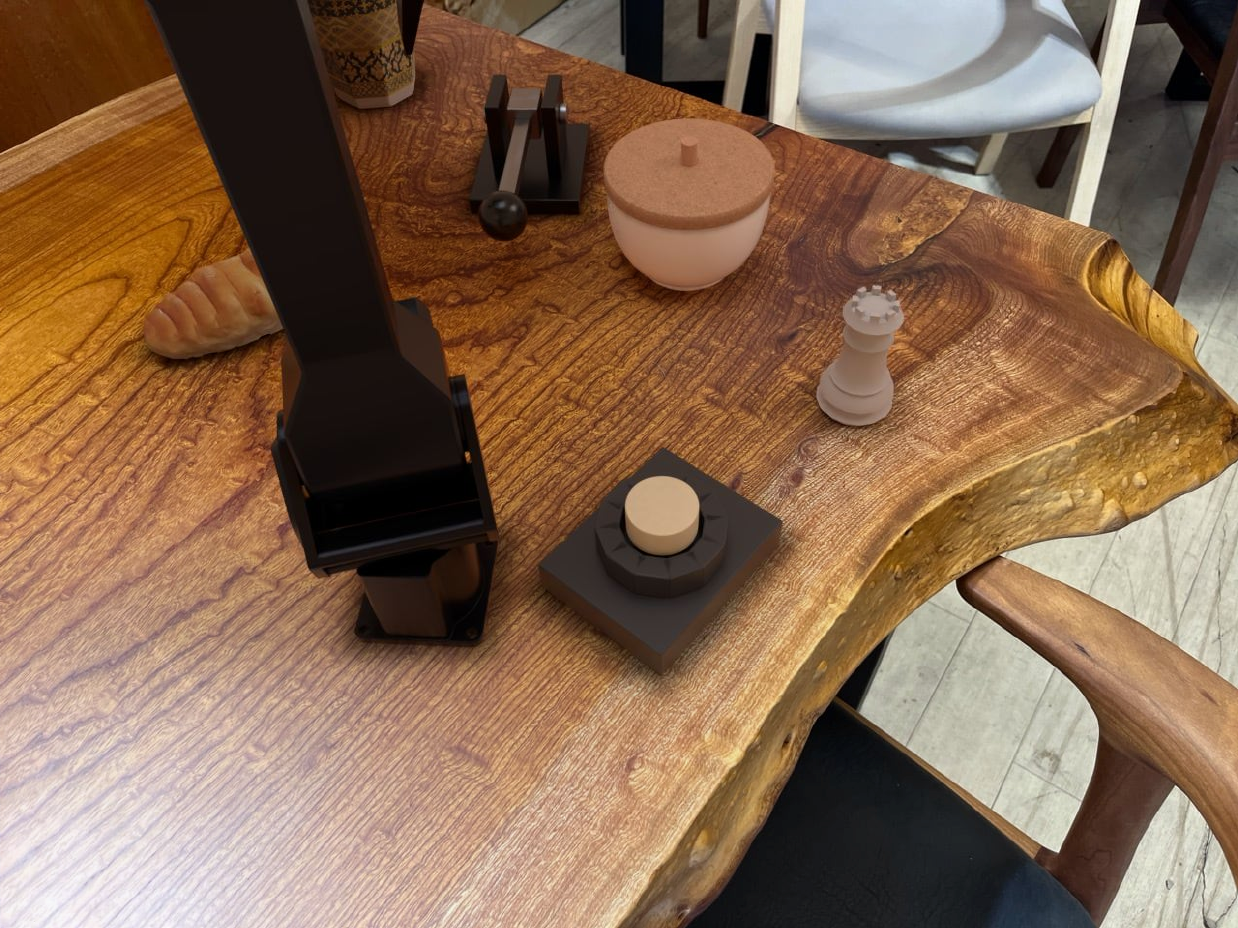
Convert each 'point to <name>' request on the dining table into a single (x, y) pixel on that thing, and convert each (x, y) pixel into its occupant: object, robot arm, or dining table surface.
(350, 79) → the ceramic cup
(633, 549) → the button housing
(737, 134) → the trinket box
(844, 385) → the rook chess piece
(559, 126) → the lever bracket
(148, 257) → the dining table surface
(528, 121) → the lever handle
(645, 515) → the button
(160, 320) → the pastry
